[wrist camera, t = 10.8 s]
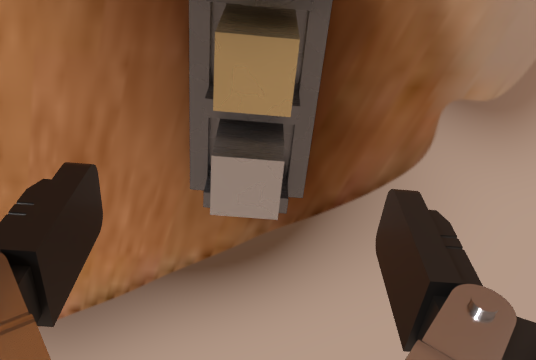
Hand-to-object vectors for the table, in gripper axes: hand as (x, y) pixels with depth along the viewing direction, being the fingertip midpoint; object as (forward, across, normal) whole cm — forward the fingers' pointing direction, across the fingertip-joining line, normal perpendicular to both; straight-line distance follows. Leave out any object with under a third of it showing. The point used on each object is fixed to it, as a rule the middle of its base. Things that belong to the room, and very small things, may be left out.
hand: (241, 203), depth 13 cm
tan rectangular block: (+18, 0, +1) cm, 18 cm away
